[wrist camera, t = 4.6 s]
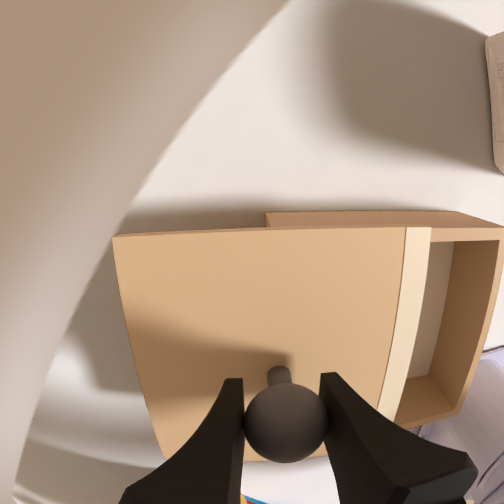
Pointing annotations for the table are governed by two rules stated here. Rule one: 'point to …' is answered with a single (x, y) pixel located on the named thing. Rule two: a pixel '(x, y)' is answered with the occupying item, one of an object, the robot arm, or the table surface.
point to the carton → (437, 303)
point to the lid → (270, 324)
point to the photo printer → (496, 93)
